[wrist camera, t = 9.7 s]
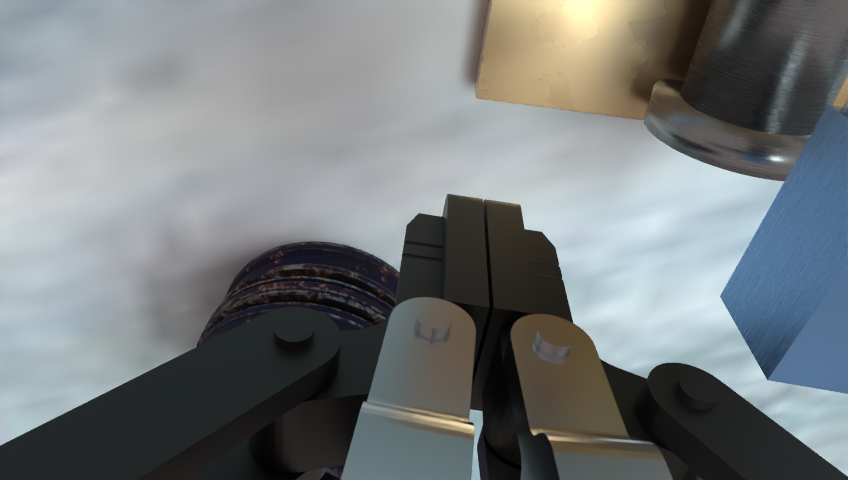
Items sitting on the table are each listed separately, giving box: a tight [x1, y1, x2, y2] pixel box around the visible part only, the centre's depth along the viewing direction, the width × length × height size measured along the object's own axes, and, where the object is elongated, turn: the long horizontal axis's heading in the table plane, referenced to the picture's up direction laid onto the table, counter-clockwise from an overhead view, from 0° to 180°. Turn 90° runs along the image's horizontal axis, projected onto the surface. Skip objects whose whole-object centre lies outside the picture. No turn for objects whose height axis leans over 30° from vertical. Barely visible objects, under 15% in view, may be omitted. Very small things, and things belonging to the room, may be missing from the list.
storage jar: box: [197, 242, 399, 480], centre depth 22 cm, size 10×10×15 cm
